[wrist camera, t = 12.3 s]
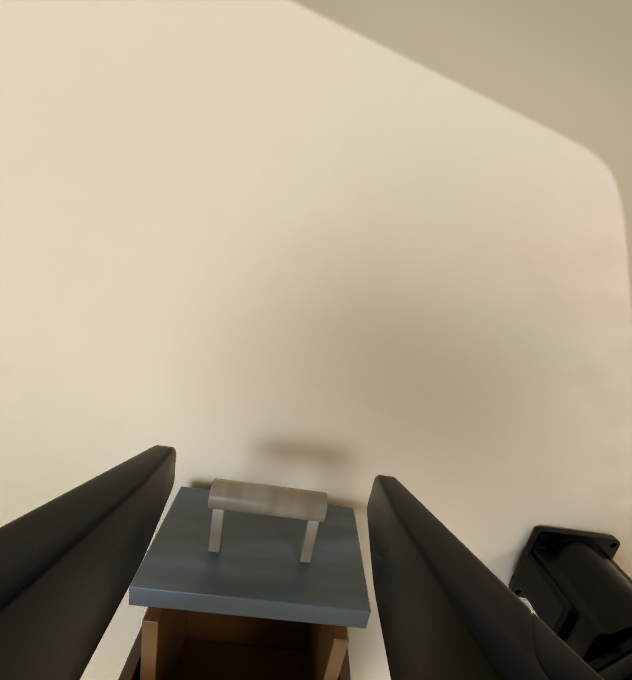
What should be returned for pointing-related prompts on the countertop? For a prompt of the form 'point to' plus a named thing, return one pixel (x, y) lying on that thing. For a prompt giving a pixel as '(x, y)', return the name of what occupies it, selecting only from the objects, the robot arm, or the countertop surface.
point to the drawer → (250, 586)
